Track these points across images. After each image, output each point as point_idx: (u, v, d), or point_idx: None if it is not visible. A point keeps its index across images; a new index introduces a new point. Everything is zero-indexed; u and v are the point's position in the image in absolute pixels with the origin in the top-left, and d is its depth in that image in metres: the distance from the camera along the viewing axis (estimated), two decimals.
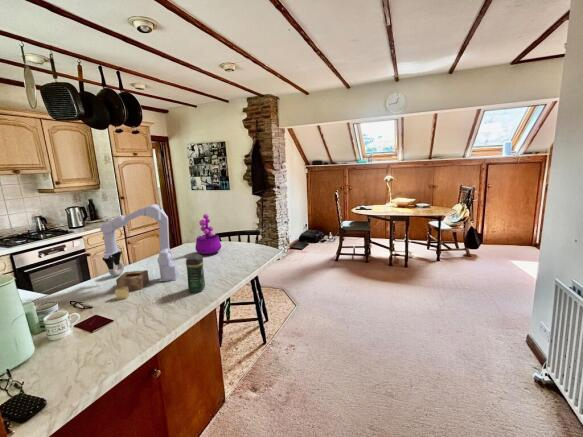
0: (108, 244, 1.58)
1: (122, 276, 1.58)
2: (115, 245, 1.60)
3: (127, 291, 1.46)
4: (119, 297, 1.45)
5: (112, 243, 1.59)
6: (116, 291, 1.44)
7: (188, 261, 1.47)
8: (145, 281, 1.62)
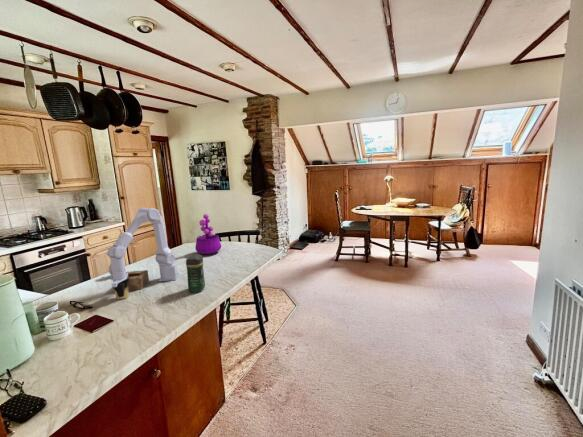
0: (122, 269, 1.42)
1: None
2: (124, 271, 1.43)
3: (127, 291, 1.46)
4: (119, 297, 1.45)
5: (124, 267, 1.44)
6: None
7: (188, 261, 1.47)
8: (145, 281, 1.62)
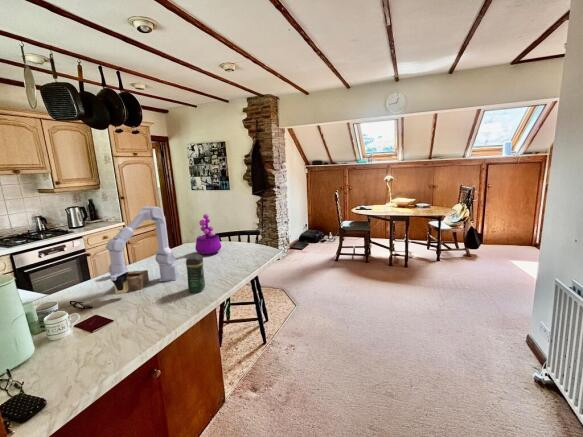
0: (121, 263, 1.42)
1: None
2: (123, 265, 1.43)
3: (126, 285, 1.46)
4: (118, 291, 1.44)
5: (123, 261, 1.44)
6: None
7: (188, 261, 1.47)
8: (145, 281, 1.62)
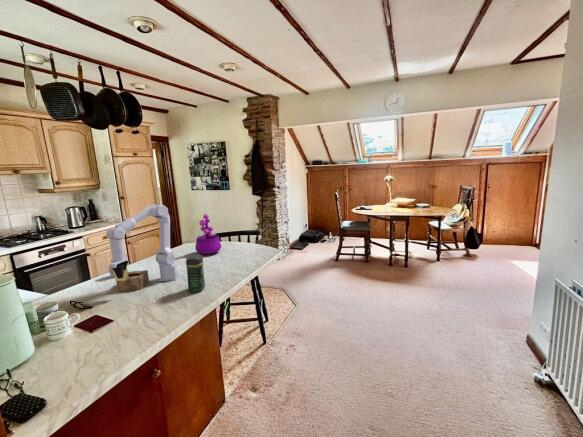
0: (121, 251, 1.42)
1: None
2: (123, 253, 1.44)
3: (126, 273, 1.47)
4: (118, 279, 1.45)
5: (123, 249, 1.44)
6: None
7: (188, 261, 1.47)
8: (145, 281, 1.62)
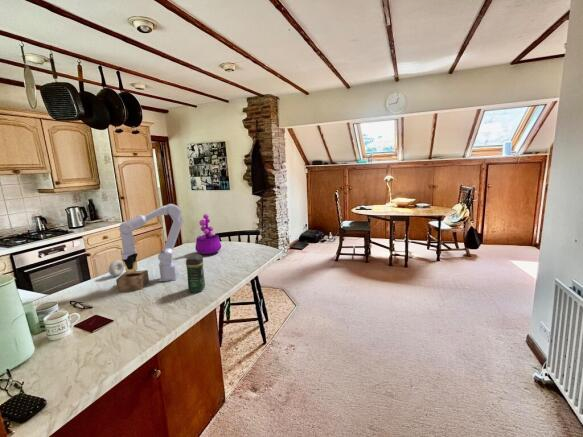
0: (128, 244, 1.54)
1: (122, 276, 1.58)
2: (133, 246, 1.56)
3: (136, 264, 1.59)
4: (128, 270, 1.57)
5: (132, 243, 1.56)
6: None
7: (188, 261, 1.47)
8: (145, 281, 1.62)
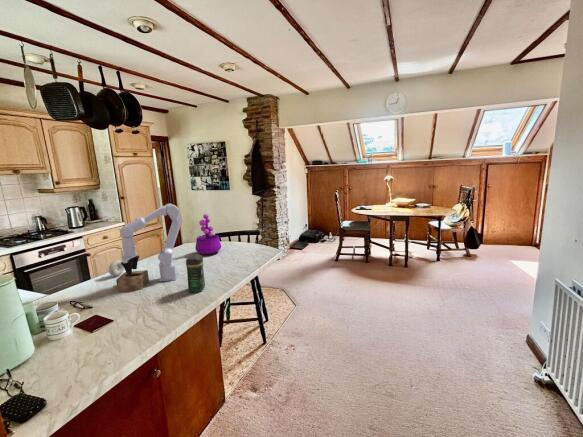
0: (129, 248, 1.55)
1: (122, 276, 1.58)
2: (133, 249, 1.57)
3: None
4: None
5: (132, 247, 1.56)
6: None
7: (188, 261, 1.47)
8: (145, 281, 1.62)
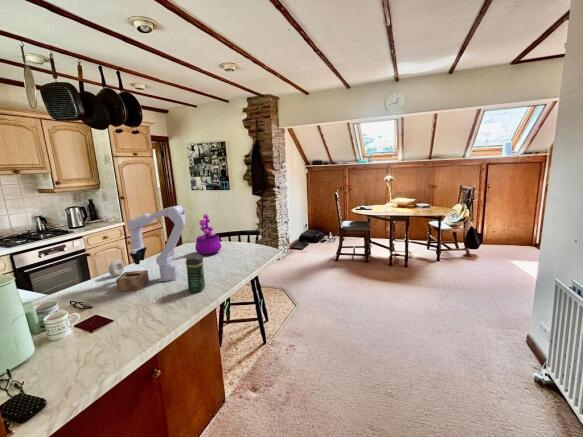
0: (134, 240, 1.64)
1: (122, 276, 1.58)
2: (141, 241, 1.66)
3: None
4: None
5: (137, 239, 1.64)
6: None
7: (188, 261, 1.47)
8: (145, 281, 1.62)
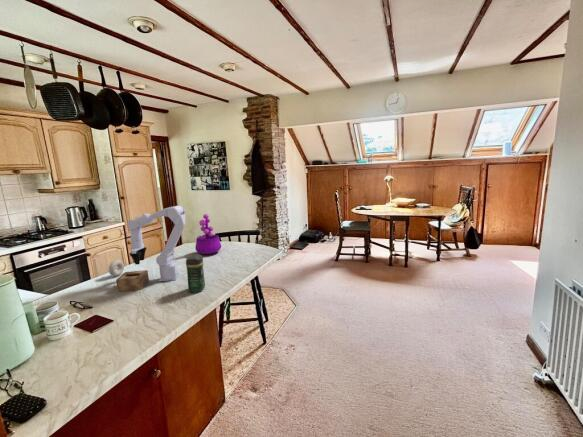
0: (134, 240, 1.64)
1: (122, 276, 1.58)
2: (141, 241, 1.66)
3: None
4: None
5: (137, 239, 1.64)
6: None
7: (188, 261, 1.47)
8: (145, 281, 1.62)
